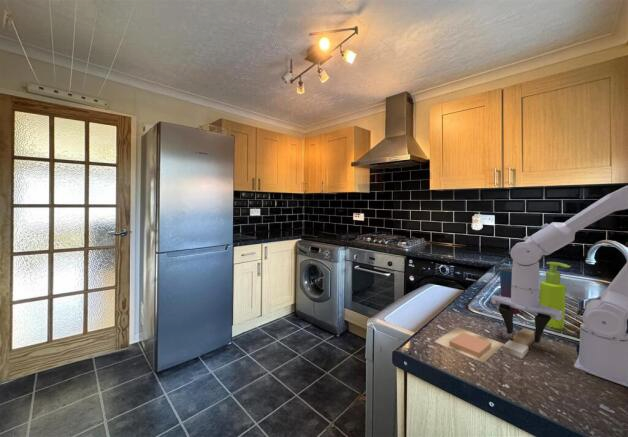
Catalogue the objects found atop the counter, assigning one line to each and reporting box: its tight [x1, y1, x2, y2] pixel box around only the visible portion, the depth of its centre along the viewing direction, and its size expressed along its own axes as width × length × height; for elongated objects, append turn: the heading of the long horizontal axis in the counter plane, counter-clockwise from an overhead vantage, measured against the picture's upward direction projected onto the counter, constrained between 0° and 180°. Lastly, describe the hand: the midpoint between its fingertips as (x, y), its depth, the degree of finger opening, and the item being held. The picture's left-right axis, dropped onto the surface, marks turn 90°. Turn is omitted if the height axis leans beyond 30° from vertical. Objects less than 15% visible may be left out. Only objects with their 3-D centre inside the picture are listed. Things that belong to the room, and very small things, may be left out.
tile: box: [449, 333, 491, 357], centre depth 67 cm, size 7×1×8 cm
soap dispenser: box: [539, 261, 572, 330], centre depth 80 cm, size 6×7×20 cm
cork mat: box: [433, 326, 505, 364], centre depth 69 cm, size 12×14×1 cm
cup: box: [499, 267, 520, 315], centre depth 92 cm, size 7×7×15 cm
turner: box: [502, 327, 535, 360], centre depth 68 cm, size 4×14×3 cm, turn 127°
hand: (523, 337), depth 69 cm, fingers open, 5 cm apart
